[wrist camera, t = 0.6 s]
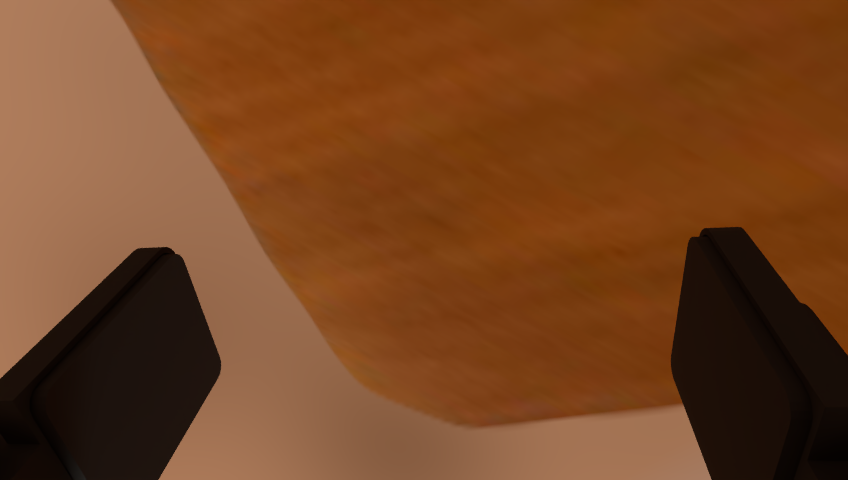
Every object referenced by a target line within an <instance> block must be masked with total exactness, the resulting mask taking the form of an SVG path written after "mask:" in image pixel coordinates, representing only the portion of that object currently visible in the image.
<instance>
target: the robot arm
mask: <svg viewBox="0 0 848 480" xmlns="http://www.w3.org/2000/svg"><path fill="white" fill-rule="evenodd" d="M671 369H672V374H673V378H674V381H675V383H676V386H677V389H678V391H679V394H680V397H681V399H682V402H683V405H684V407H685V410H686V413H687V415H688V418H689V420H690V423H691V426H692V428H693V431H694V434H695V437H696V439H697V442H698V445H699V447H700V450H701V453H702V455H703V458H704V461H705V463H706V466H707V468H708V471H709V474H710V476H711V479H712V480H848V355H847V354H846V353H845V352H844V350H843V349H842V348H841V346H840V345H839V344H838V343H837V341H836V340H835V339H834V338H833V336H832V335H831V334H830V332H829V331H828V330H827V329H826V327H825V326H824V325H823V323H822V322H821V321H820V320H819V318H818V317H817V316H816V314H815V313H814V312H813V311H812V310H811V309H810V308H809V307H808V306H807V305H806V304H803V303H800V302H799V301H798V300H797V298H796V297H795V296H794V294H793V293H792V292H791V290H790V289H789V288H788V286H787V285H786V284H785V283H784V281H783V280H782V279H781V277H780V276H779V275H778V273H777V272H776V271H775V270H774V268H773V267H772V266H771V264H770V263H769V262H768V260H767V259H766V258H765V256H764V255H763V254H762V253H761V251H760V250H759V249H758V247H757V246H756V245H755V243H754V242H753V241H752V239H751V238H750V237H749V236H748V234H747V233H746V232H745V230H744V229H742V228H741V227H726V228H704V229H703V230H702V231H701V233H700V236H699V237H691V238H690V240H689V242H688V247H687V254H686V261H685V267H684V274H683V281H682V287H681V294H680V301H679V307H678V314H677V321H676V327H675V334H674V341H673V347H672V354H671ZM220 370H221V360H220V357H219V354H218V351H217V348H216V346H215V344H214V340H213V338H212V335H211V332H210V330H209V327H208V324H207V322H206V319H205V316H204V314H203V311H202V309H201V306H200V303H199V300H198V297H197V295H196V292H195V290H194V287H193V284H192V281H191V279H190V276H189V273H188V270H187V268H186V265H185V263H184V260H183V258H182V257H181V256H180V255H178V254H175V252H174V251H173V250H172V249H170V248H168V247H161V248H160V247H158V248H140V249H136V250H135V251H133V252H132V253H131V254H130V255H129V256H128V257H127V258H126V259H125V260H124V261H123V262H122V263H121V264H120V265H119V266H118V267H117V268H116V269H115V270H114V271H113V272H111V273H110V274H109V275H108V276H107V277H106V278H105V279H104V280H103V281H102V282H101V283H100V284H99V285H98V286H97V287H96V288H95V289H94V290H93V291H92V292H91V293H90V294H89V295H87V296H86V297H85V298H84V299H83V300H82V301H81V302H80V303H79V304H78V305H77V306H76V307H75V308H74V309H73V310H72V311H71V312H70V313H69V314H68V315H66V316H65V317H64V318H63V319H62V320H61V321H60V322H59V323H58V324H57V325H56V326H55V327H54V328H53V329H52V330H51V331H50V332H49V333H48V334H47V335H46V336H45V337H43V339H42V340H40V341H39V342H38V343H37V344H36V345H35V346H34V347H33V348H32V349H31V350H30V351H29V352H28V353H27V354H26V355H25V356H24V357H23V358H22V359H20V360H19V361H18V362H17V363H16V365H14V366H13V367H12V368H11V369H10V370H9V371H8V372H7V373H6V374H5V375H4V376H3V377H2V378H1V379H0V480H158V479H159V478H160V476H161V474H162V472H163V471H164V469H165V467H166V466H167V464H168V462H169V460H170V459H171V457H172V456H173V454H174V452H175V450H176V449H177V447H178V445H179V443H180V442H181V440H182V438H183V437H184V435H185V433H186V431H187V430H188V428H189V427H190V425H191V423H192V421H193V420H194V418H195V416H196V415H197V413H198V411H199V409H200V407H201V406H202V404H203V403H204V401H205V399H206V397H207V396H208V394H209V393H210V391H211V389H212V387H213V386H214V384H215V382H216V381H217V379H218V376H219V374H220Z"/></svg>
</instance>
